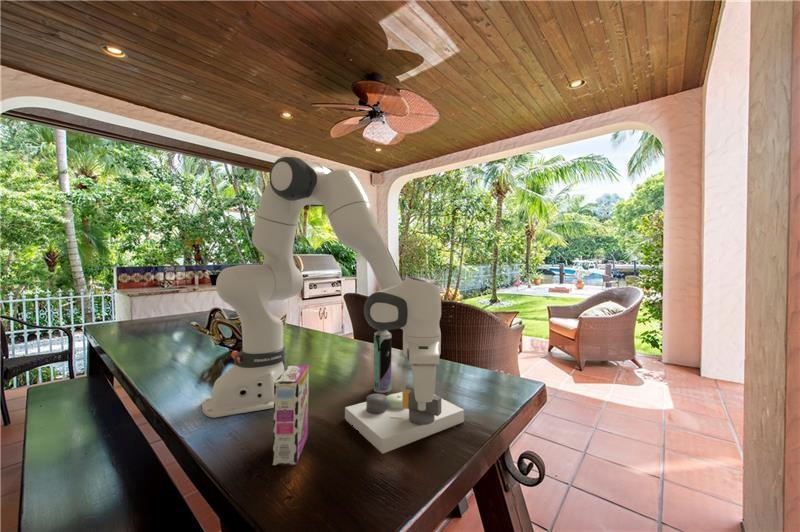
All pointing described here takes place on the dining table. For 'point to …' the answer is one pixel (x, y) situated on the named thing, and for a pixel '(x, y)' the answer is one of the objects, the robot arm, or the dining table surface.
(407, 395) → the wing knob
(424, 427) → the base
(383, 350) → the spray can
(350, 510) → the dining table surface
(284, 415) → the candy bar box
